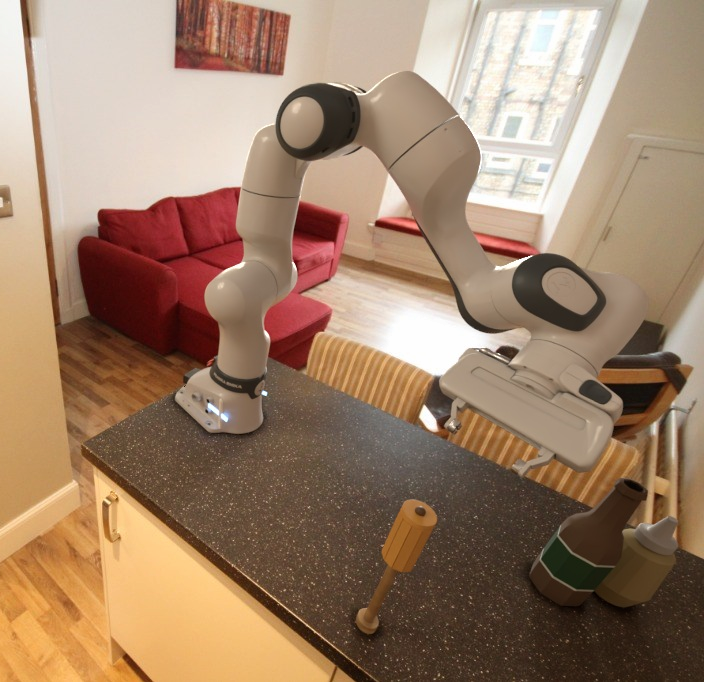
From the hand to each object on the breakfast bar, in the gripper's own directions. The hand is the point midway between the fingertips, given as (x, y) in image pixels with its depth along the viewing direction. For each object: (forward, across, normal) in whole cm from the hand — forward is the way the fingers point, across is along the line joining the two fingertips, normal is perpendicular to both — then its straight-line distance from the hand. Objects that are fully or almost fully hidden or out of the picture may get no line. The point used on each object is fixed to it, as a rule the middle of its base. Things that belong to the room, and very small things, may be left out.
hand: (480, 450), depth 62 cm
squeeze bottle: (+1, +18, +38) cm, 42 cm away
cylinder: (+19, +2, -2) cm, 19 cm away
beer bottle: (+6, +13, +33) cm, 36 cm away
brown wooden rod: (+30, +2, +9) cm, 31 cm away
